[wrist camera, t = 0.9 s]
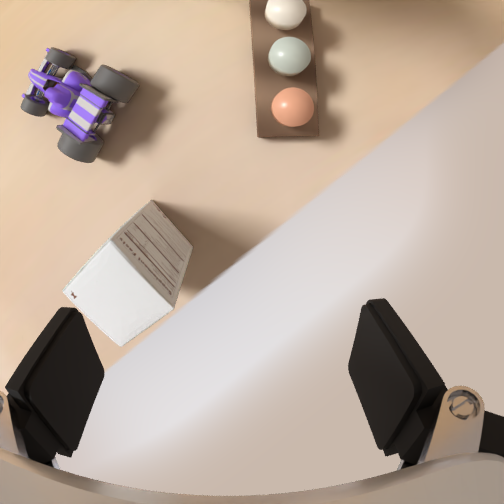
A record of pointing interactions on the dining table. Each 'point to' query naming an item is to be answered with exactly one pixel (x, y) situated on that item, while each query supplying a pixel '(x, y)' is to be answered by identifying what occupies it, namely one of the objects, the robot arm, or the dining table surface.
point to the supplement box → (132, 275)
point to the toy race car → (77, 101)
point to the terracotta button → (292, 107)
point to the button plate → (273, 82)
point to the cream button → (285, 13)
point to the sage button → (289, 56)
